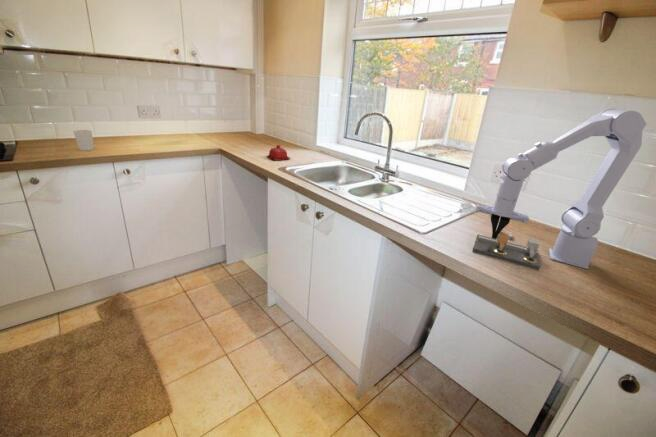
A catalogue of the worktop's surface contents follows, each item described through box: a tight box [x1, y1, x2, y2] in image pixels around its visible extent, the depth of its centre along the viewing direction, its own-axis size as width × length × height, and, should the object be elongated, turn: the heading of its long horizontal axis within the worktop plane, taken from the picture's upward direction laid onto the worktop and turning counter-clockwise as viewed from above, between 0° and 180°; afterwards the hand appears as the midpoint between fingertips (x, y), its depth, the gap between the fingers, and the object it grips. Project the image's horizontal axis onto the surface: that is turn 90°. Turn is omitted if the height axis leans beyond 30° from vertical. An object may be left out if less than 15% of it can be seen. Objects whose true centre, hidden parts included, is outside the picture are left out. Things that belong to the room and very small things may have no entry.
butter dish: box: [266, 144, 291, 162], centre depth 189 cm, size 12×12×8 cm
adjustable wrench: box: [496, 219, 514, 241], centre depth 119 cm, size 25×6×2 cm, turn 157°
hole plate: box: [472, 234, 541, 271], centre depth 98 cm, size 18×12×5 cm, turn 60°
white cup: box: [73, 129, 95, 152], centre depth 174 cm, size 8×8×10 cm
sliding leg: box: [497, 231, 510, 251], centre depth 99 cm, size 2×8×4 cm, turn 150°
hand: (494, 237), depth 101 cm, fingers closed
